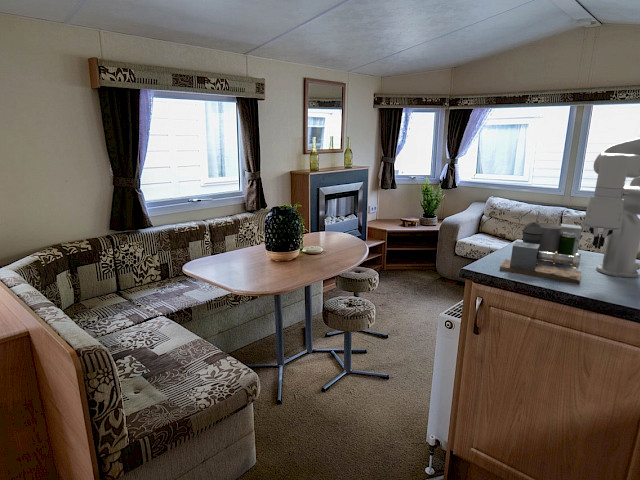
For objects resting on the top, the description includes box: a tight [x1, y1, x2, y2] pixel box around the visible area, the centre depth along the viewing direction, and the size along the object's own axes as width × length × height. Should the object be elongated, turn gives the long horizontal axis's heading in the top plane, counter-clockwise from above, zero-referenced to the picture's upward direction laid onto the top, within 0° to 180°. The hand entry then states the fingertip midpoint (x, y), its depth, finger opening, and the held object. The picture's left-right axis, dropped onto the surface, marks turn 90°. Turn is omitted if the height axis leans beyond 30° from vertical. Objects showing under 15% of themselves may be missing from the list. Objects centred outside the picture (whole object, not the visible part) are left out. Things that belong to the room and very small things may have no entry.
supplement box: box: [559, 223, 583, 256], centre depth 172 cm, size 7×7×13 cm
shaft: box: [537, 251, 582, 269], centre depth 146 cm, size 18×5×5 cm, turn 57°
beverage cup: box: [522, 211, 543, 244], centre depth 161 cm, size 7×7×20 cm
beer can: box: [556, 232, 576, 266], centre depth 161 cm, size 5×5×12 cm
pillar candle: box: [537, 221, 562, 262], centre depth 166 cm, size 10×10×15 cm
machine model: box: [499, 240, 582, 286], centre depth 148 cm, size 25×12×10 cm, turn 57°
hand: (597, 247), depth 138 cm, fingers closed
